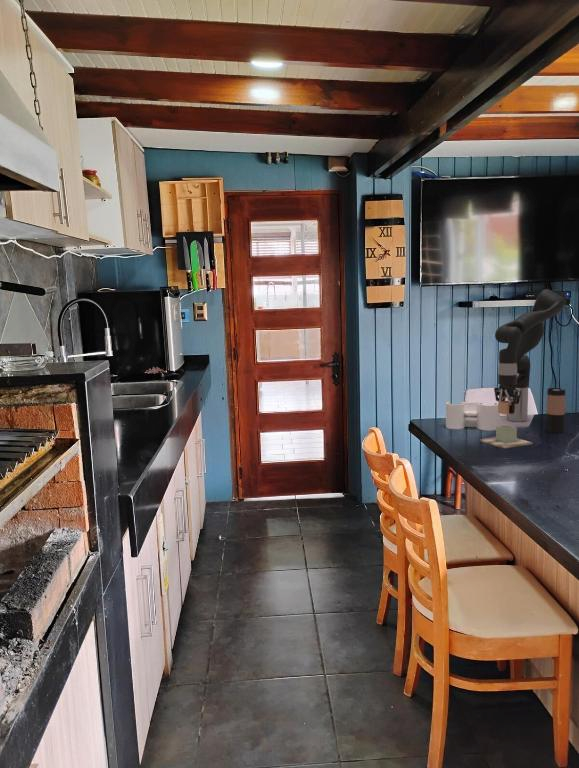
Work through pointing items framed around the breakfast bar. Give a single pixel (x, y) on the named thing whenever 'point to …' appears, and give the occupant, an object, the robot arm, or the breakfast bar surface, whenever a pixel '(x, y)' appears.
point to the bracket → (472, 416)
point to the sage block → (506, 433)
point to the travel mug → (555, 410)
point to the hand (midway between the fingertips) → (506, 412)
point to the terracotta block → (504, 407)
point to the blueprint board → (506, 445)
